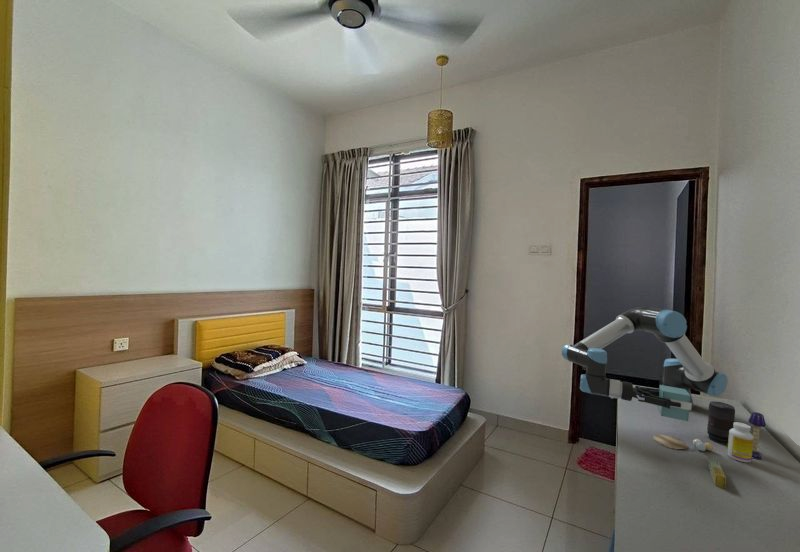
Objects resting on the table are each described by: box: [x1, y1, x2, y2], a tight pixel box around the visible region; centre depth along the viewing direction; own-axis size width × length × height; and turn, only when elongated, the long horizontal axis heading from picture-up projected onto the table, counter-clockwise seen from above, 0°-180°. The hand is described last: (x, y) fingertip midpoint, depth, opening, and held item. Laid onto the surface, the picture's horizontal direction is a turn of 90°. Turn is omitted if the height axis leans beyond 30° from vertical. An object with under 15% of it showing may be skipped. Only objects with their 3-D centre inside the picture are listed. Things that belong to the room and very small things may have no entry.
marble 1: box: [692, 438, 703, 447], centre depth 141 cm, size 3×3×3 cm
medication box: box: [708, 458, 727, 489], centre depth 120 cm, size 12×3×4 cm, turn 148°
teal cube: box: [657, 384, 690, 422], centre depth 143 cm, size 8×8×10 cm
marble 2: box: [695, 442, 707, 452], centre depth 138 cm, size 3×3×3 cm
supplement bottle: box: [726, 421, 754, 464], centre depth 134 cm, size 7×7×13 cm
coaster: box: [652, 434, 689, 450], centre depth 144 cm, size 11×11×1 cm
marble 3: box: [703, 441, 714, 452], centre depth 139 cm, size 3×3×3 cm
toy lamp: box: [747, 411, 767, 460], centre depth 136 cm, size 5×5×17 cm
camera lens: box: [706, 400, 736, 445], centre depth 147 cm, size 8×8×15 cm
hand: (688, 402), depth 140 cm, fingers closed on teal cube, 8 cm apart
